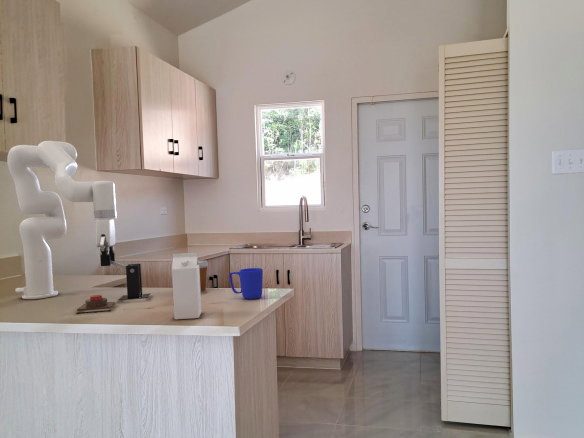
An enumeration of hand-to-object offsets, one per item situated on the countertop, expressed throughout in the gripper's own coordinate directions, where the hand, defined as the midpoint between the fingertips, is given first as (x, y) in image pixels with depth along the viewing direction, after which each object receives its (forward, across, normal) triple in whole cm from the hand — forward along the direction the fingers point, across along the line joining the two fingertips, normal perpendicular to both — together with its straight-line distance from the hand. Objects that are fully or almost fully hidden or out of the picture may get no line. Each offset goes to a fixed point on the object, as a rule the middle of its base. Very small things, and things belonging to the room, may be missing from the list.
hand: (108, 264), depth 169 cm
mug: (+14, +13, +49) cm, 52 cm away
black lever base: (+14, 0, +9) cm, 16 cm away
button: (+10, +14, -1) cm, 18 cm away
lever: (+2, 0, +4) cm, 4 cm away
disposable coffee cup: (+14, -4, +31) cm, 34 cm away
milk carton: (+14, +34, +30) cm, 47 cm away
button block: (+14, +14, -1) cm, 20 cm away
